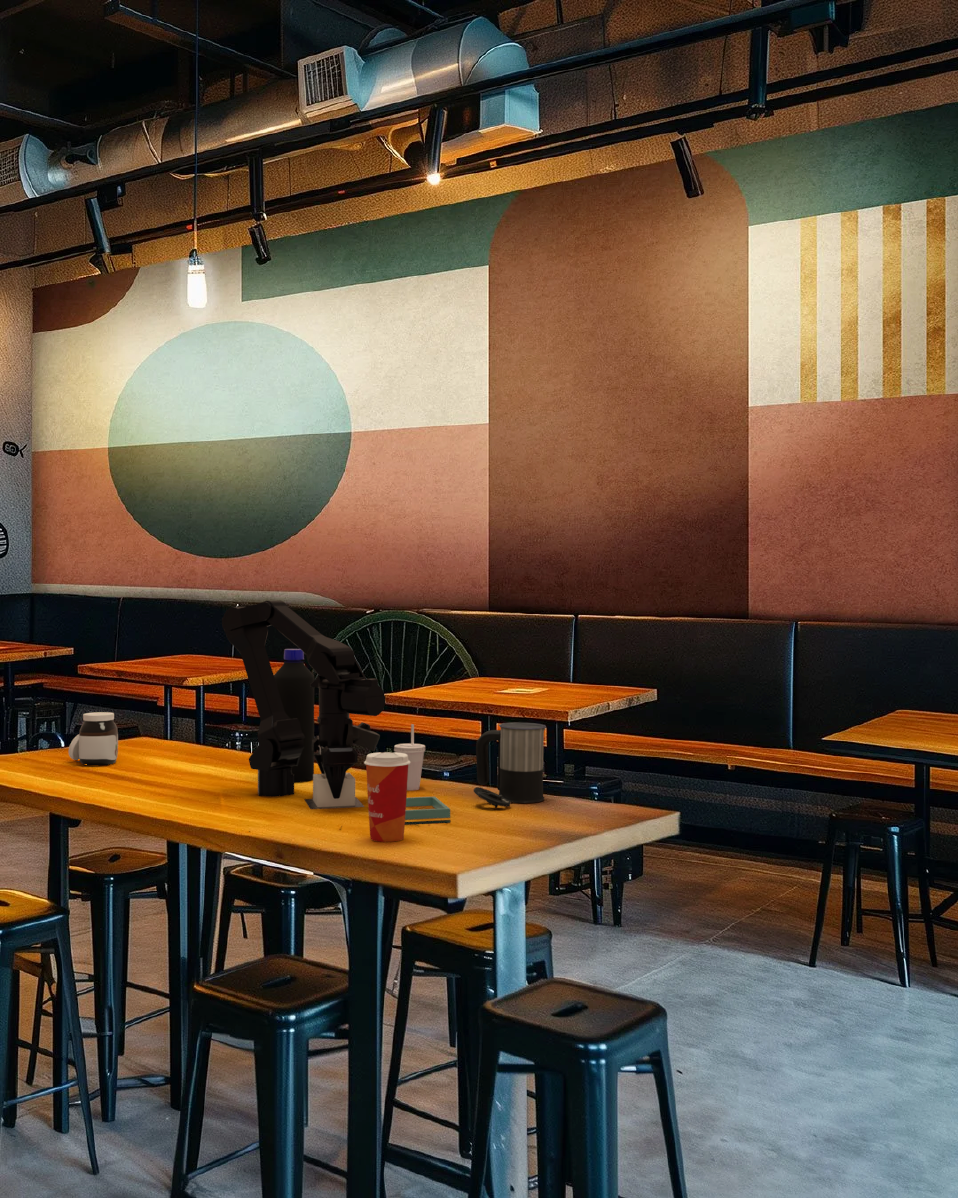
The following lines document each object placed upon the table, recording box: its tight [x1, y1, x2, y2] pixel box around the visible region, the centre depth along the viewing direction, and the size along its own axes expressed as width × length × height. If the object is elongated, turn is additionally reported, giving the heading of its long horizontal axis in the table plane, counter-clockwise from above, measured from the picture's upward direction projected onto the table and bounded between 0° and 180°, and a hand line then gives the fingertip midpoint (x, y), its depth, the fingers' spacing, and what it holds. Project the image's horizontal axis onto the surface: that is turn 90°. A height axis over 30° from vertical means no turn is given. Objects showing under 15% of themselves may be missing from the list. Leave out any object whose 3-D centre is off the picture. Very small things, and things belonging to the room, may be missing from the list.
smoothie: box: [393, 723, 426, 791], centre depth 241 cm, size 6×6×14 cm
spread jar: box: [68, 711, 119, 766], centre depth 278 cm, size 12×11×12 cm
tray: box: [405, 796, 451, 826], centre depth 217 cm, size 12×12×2 cm
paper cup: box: [363, 751, 410, 843], centre depth 199 cm, size 8×8×14 cm
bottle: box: [273, 648, 315, 784], centre depth 257 cm, size 9×9×28 cm
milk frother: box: [473, 722, 547, 809], centre depth 232 cm, size 14×16×15 cm
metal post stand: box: [304, 796, 365, 810], centre depth 225 cm, size 10×10×6 cm
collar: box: [312, 772, 356, 807], centre depth 225 cm, size 7×7×5 cm
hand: (333, 795), depth 225 cm, fingers closed on collar, 7 cm apart
